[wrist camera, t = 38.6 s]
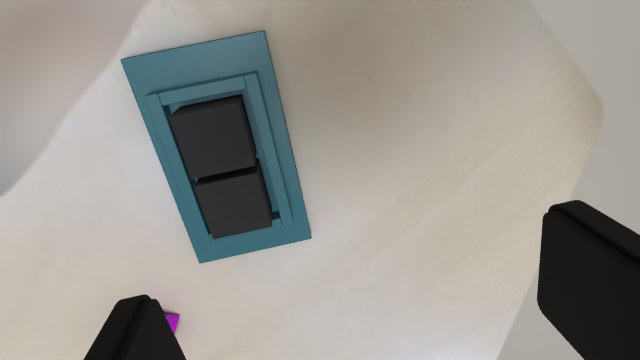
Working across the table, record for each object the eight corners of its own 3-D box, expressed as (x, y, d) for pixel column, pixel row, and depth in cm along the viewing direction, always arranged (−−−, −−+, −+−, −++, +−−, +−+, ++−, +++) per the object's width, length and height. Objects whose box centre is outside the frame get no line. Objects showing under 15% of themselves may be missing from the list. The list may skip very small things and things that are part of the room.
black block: (241, 93, 29) (237, 102, 26) (257, 151, 31) (255, 165, 28) (179, 106, 29) (168, 116, 26) (199, 163, 31) (191, 179, 28)
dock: (264, 30, 29) (263, 30, 26) (310, 233, 36) (313, 247, 34) (124, 58, 28) (111, 61, 26) (201, 257, 36) (196, 273, 34)
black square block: (258, 157, 32) (257, 172, 28) (272, 207, 34) (272, 227, 30) (201, 169, 31) (193, 186, 28) (218, 219, 33) (212, 240, 30)
